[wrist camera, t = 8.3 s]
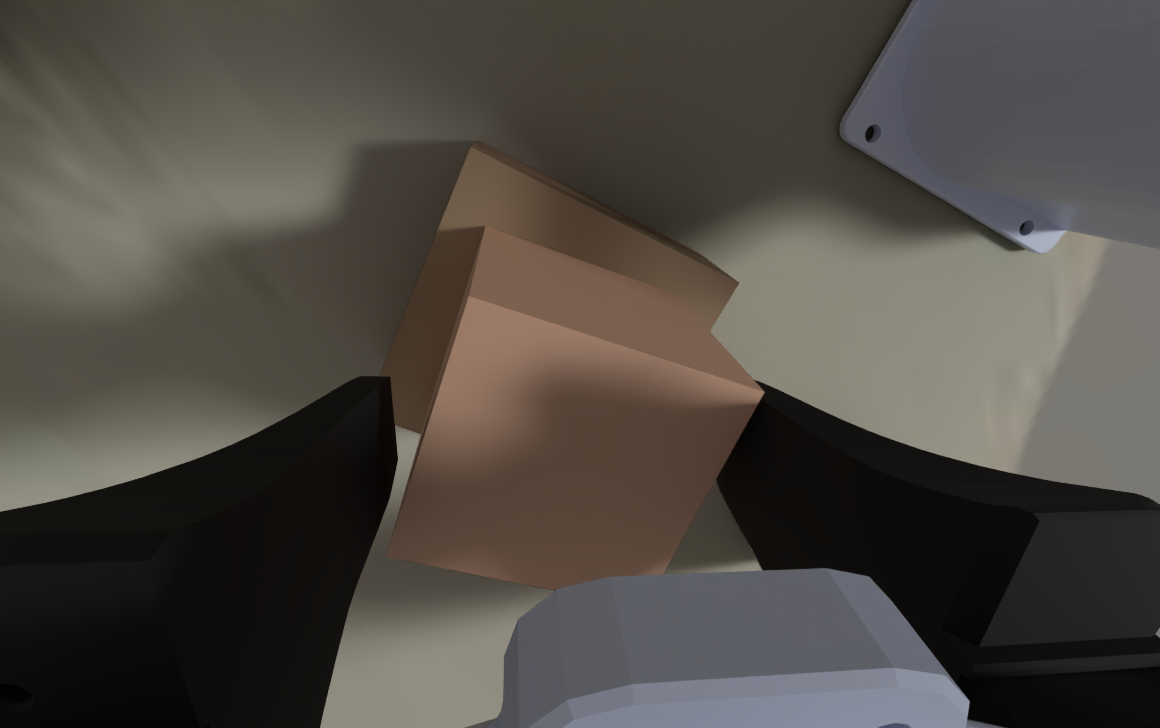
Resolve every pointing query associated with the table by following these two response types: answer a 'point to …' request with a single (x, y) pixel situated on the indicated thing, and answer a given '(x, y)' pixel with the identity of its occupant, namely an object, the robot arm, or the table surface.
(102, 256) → the table surface
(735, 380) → the terracotta block
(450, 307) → the walnut block
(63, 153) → the table surface
